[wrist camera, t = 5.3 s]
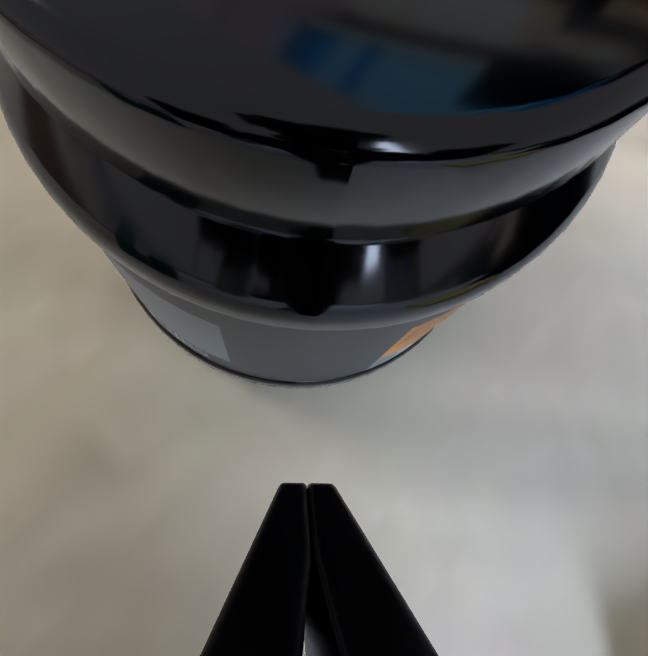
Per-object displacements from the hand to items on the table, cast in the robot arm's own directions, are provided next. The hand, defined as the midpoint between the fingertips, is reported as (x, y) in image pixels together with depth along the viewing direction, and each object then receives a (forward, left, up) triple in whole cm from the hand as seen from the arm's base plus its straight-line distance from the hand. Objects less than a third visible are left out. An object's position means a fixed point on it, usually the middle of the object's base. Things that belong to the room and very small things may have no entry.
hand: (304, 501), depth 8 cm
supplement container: (+8, 0, -7) cm, 11 cm away
